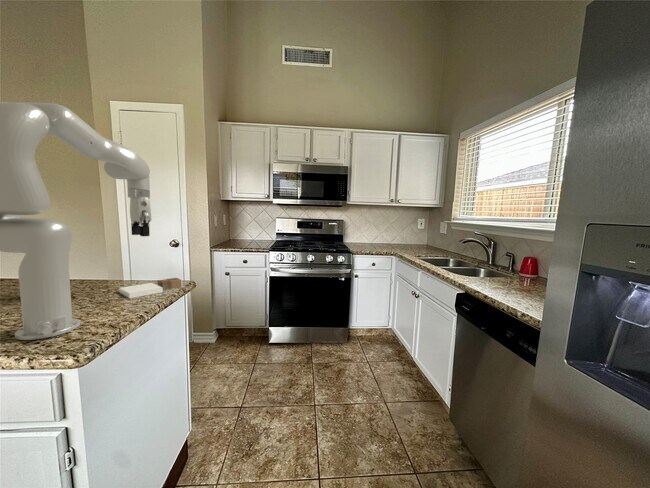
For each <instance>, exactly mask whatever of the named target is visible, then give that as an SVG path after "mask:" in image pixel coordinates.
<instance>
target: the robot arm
mask: <svg viewBox="0 0 650 488" xmlns="http://www.w3.org/2000/svg"><path fill="white" fill-rule="evenodd" d="M46 136H53V137H56V138H57V139H59V140H61V141H62V142H63V143H65V144H66V145H67V146H68V147H69V146H70V147H71V148H73V149H74V150H75V151H77V152H78V153H80V155H81V154H82V156H85V157H87V158H90V159H93V160H97V161H102V162H105V163H104V166H103V170H104V172H105V173H106V174H107V176H109V177H111V178H113V179H115V180H126V182H127V185H126V186H127V198H129V215H130V216H129V218H130V221H131V224H130V225H131V227H130V228H131V235H132V236H140V237H150V233H151V232H150V222H152V210H151V203H150V199H151V192H150V191H151V190H150V188H151V187H150V185H151V184H150V171H151V170H150V167H149V165H148V163H147V162H146V161H145V160H144V159H143V158H142V157H141V156H140V155H139V154H138V153H136V151H135V150H132V149H130V148H129V147H127V146H124V145H123V144H119V143H117V142H116V141H114V140H111V139H109V138H106V137H104V136H103V135H101V134H100V133H98V131H97V130H95V129H94V128H92V126H90V125H89V124H88V123H87V122H85V121H84V120H83V119H82V118H81V117H80V116H78V115H77V114H76V113H74V111H72V110H71V109H69V108H68V107H66V106H64V105H62V104H58V103H52V102H31V101H28V102H27V101H26V102H24V101H22V102H18V101H17V102H13V101H12V102H11V101H0V252H2V253H19V254H24V257H23V258H22V260H21V262H20V264H19V265H18V273H17V274H18V282H19V295H20V296H19V297H20V304H21V305H20V306H21V317H22V318H21V319H22V327H21V328H19V329H18V330H16V331H15V332H14V338H15V339H16V340H19V341H20V340H21V341H33V340H35V341H36V340H42V339H48V338H52V337H56V336H60V335H62V334H66V333H68V332H69V333H70V331H73V330H76V329H77V328H78V327H80V324H81V321H80V319H78V318H74V317H73V309H72V296H71V295H72V294H71V283H70V282H71V281H70V267H69V266H70V265H69V261H70V260H69V259H70V258H69V256H70V250H71V245H72V240H73V236H72V235H73V234H72V231H71V229H70V228H69V226H68V225H66V224H65V223H63V222H62V221H60V220H56V219H52V218H43V217H38V218H37V217H36V218H35V217H21V216H35V215H40V214H43V213H45V212H47V211H48V210H49V209H50V207H51V198H50V195H49V193H48V190H47V188H46V185H45V183H44V181H43V179H42V176H41V172H40V171H39V167H38V165H37V161H36V156H35V155H36V150H37V147H38V145H39V144H40V142H42V140H43V139H44V138H45V137H46Z"/></svg>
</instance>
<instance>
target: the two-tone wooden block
mask: <svg viewBox="0 0 650 488" xmlns="http://www.w3.org/2000/svg"><path fill="white" fill-rule="evenodd" d="M157 285H158V286H160V287H163V291H167V290H172V288H173V289H177V288H176V287H178V288H182V287H183V280H182V279H181V278H178V277H172V278H171V277H170V278H164V279H159V280H157Z"/></svg>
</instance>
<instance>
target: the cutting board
mask: <svg viewBox="0 0 650 488" xmlns="http://www.w3.org/2000/svg"><path fill="white" fill-rule="evenodd" d="M118 290H119V291H118V292H119V293H120V294H121V295H122V296H125V297H127V298H129V299H132V298H138V297H144V296H148V295H153V294H161V293H163V291H164V290H163V287H160V286H158V284H157V283H156V284H155V283H152V282H147V283H142V284H136V285H130V286H124V287H119V288H118Z"/></svg>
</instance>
